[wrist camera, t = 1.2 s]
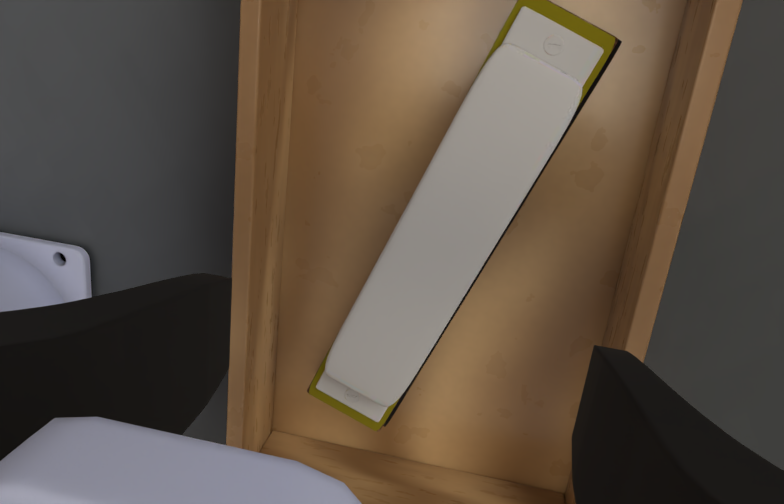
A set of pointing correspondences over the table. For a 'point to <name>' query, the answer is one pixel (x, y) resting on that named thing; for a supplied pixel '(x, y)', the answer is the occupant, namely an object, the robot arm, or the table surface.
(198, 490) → the robot arm
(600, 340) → the tray
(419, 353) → the harmonica
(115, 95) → the table surface
